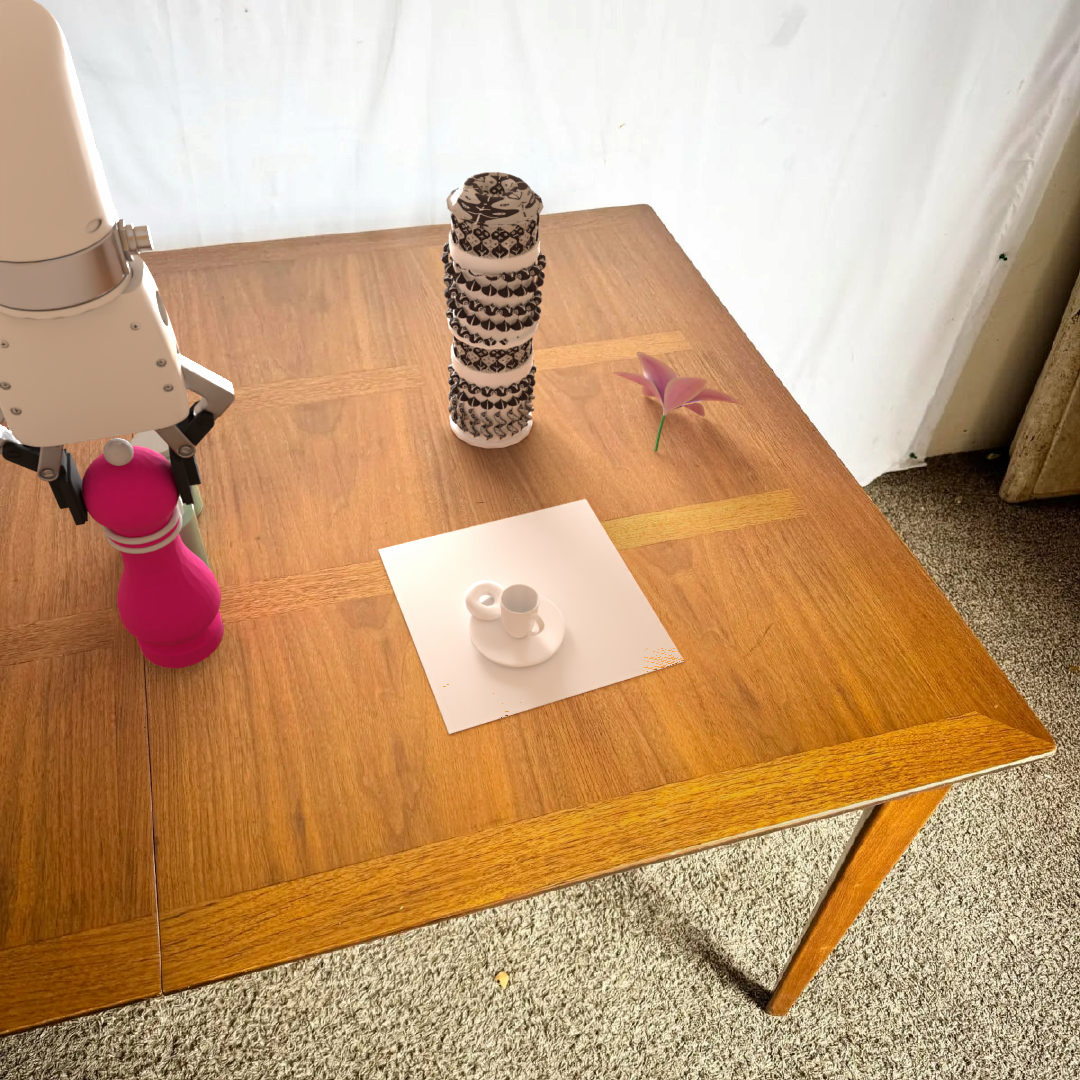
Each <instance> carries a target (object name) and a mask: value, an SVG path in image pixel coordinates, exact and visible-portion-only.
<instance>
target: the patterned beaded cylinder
mask: <svg viewBox="0 0 1080 1080" xmlns="http://www.w3.org/2000/svg"><path fill="white" fill-rule="evenodd" d="M446 207H447V209H448V211H449V212H450V225H451V226H450V230H449V232H448V241H447V242H445V243H443V244H444V245H443V246H442V251H443V253H442V254H441V256H440V258H441V259H440V260H441V262H442V263H443V264H444V266H443V272H444V274H445V275H444V276H443V283H444V285H445V286H446V288H445V289H444V291H443V296H444V297H445V298H446V303H445V304H446V306H447V309H446V311H445V316H446V318H447V326H448V330H449V331H450V333H451V334H452V343H451V346H450V356H451V357H450V358H449V364H448V365H447V370H448V372H449V377H448V379H447V383H448V385H449V386H450V387H449V390H448V393H447V399H448V401H449V405H448V406H447V407H448V412H449V425H450V429H451V431H452V432H453V433H454V434H455V436H456V437H457V438H458V439H459V440H461V441H463V442H465V443H467V444H468V445H470V446H474V447H478V448H483V449H503V448H507V447H510V446H512V445H515V444H519V443H520V442H521V441H523V440H524V439H525V438H526V437H528V436H529V434H530V432H531V430H532V427H533V423H534V422H533V416H532V412H534V411H535V407H534V403H532V402H533V401H534V400H535V399H536V395H535V394H534V387H535V385H536V384H537V383H536V379H535V374H536V373H537V366H536V365H535V351H534V347H533V339H534V337H535V335H536V333H537V330H538V329H539V326H540V325H539V324H540V323H539V320H540V318H541V313H542V308H541V307H540V306H539V305H541V303H542V302H543V299H542V295H543V293H542V291H541V290H540V289H539V288H540V287H542V286H543V285H544V283H545V277H546V274H545V272H544V271H543V270H544V269H545V268H546V266H547V262H546V260H547V259H546V255H545V254H544V253H542V252H541V237H540V234H539V230H540V214H541V213H542V211H543V209H544V203H543V200H542V197H541V196H540V195H539V194H538V193H536V192H535V191H534V190H533V189H532V188H531V186H530V185H529V184H527V183H526V182H525V181H524V180H523V179H522V178H521V177H518V176H516V175H513V174H511V173H506V172H499V171H485V172H481V173H476V174H473V175H472V176H470V177H467V178H466V179H464V180H463V182H462V183H461V184H460V186H459V187H457V188H455V189H453V190H452V191H451V192H450V194H449V195H448V196H447V198H446ZM449 255H450V256H449ZM536 263H537V264H536Z"/></svg>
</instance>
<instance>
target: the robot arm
mask: <svg viewBox="0 0 1080 1080" xmlns="http://www.w3.org/2000/svg"><path fill="white" fill-rule="evenodd" d="M76 73H77V72H76V69H75V66H74V63H73V59H72V55H71V52H70V49H69V46H68V43H67V40H66V37H65V34H64V32H63V30H62V28H61V26H60V24H59V22H58V20H56V18H55V16H54V15H53V14H52V13H51V12H50V10H48V9H47V8H46V7H44V6H43V5H42V4H41V3H39V2H38V1H36V0H0V455H1V456H2V457H3V459H4V460H6V461H8V462H10V463H12V464H15V465H17V466H20V467H23V468H25V469H28V470H29V471H33V472H34V473H36V475H37V477H38V479H39V480H41V481H43V482H47V483H48V485H49V487H50V489H51V492H52V494H53V497H54V499H55V501H56V504H57V506H58V508H59V510H63V509H68V510H69V512H70V514H71V517H72V519H73V522H74V524H75V526H81V525H85V524H86V522H88V521H89V513H88V511H87V509H86V507H85V504H84V501H83V498H82V491H81V488H82V480H83V478H82V477H81V475H80V472H79V469H78V467H77V464H76V462H75V460H74V457H73V454H72V452H68V449H67V448H64V447H65V445H71V444H79V443H85V442H90V441H91V442H92V441H98V440H103V439H109V438H117V437H121V436H128V435H134V434H137V433H139V432H145V431H151V430H155V431H156V433H157V434H158V435H159V436H160V437H161V438H162V439H163V440H164V441H165V442H166V443H167V444H168V447H169V455H170V462H171V466H172V470H173V473H174V476H175V480H176V483H177V486H178V490H179V493H180V496H181V500H182V503H183V504H184V503H186V505H190V504H194V498H193V491H192V485H198V486H199V485H202V479H201V474H200V469H199V465H198V461H197V458H196V451H197V450H196V449H197V448H196V447H197V446H198V445H199V444H200V443H201V441H202V440H203V439H204V438H205V437H206V436H207V435H208V434H209V432H210V431H211V430H212V429H213V428H214V427H215V424H216V420H217V419H219V418H220V417H222V415H223V414H224V413H225V412H226V411H227V410H228V409H229V408H230V407H231V405H232V404H233V403H234V402H235V400H236V396H235V389H234V385H233V383H232V382H230V381H229V380H227V379H226V378H223V377H222V376H220V375H218V374H216V373H215V372H213V371H211V370H209V369H207V368H205V367H203V366H202V365H200V364H198V363H196V362H195V361H193V360H191V359H189V358H187V357H185V356H183V355H182V354H181V351H180V348H179V344H178V341H177V338H176V335H175V332H174V329H173V326H172V323H171V320H170V317H169V313H168V311H167V309H166V305H165V304H164V301H163V299H162V295H161V294H160V291H159V289H158V287H157V285H156V284H157V283H156V282H155V279H154V278H153V276H152V274H151V272H150V270H149V268H148V266H147V265H146V263H145V261H144V259H143V258H142V257H141V256H140V254H141V252H150V251H154V245H153V240H152V236H151V231H150V228H149V225H139V226H134V224H133V223H131V224H126V222H125V219H124V218H119V216H118V213H117V209H116V207H114V203H113V201H112V196H111V193H110V190H109V186H108V183H107V179H106V175H105V172H104V169H103V164H102V160H101V159H100V158H101V157H100V154H99V151H98V147H97V144H96V140H95V137H94V133H93V130H92V127H91V123H90V119H89V116H88V112H87V108H86V104H85V102H84V97H83V95H82V91H81V87H80V83H79V79H78V77H77V74H76ZM188 390H189V391H191V392H193V393H195V394H197V395H198V396H201V397H200V398H201V399H199V400H197V401H195V402H194V403H193V404H192V405H191V407H190V402H189V392H188ZM4 422H6V425H7V427H8V429H9V430H8V429H7V427H5V426H2V424H3V423H4Z"/></svg>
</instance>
